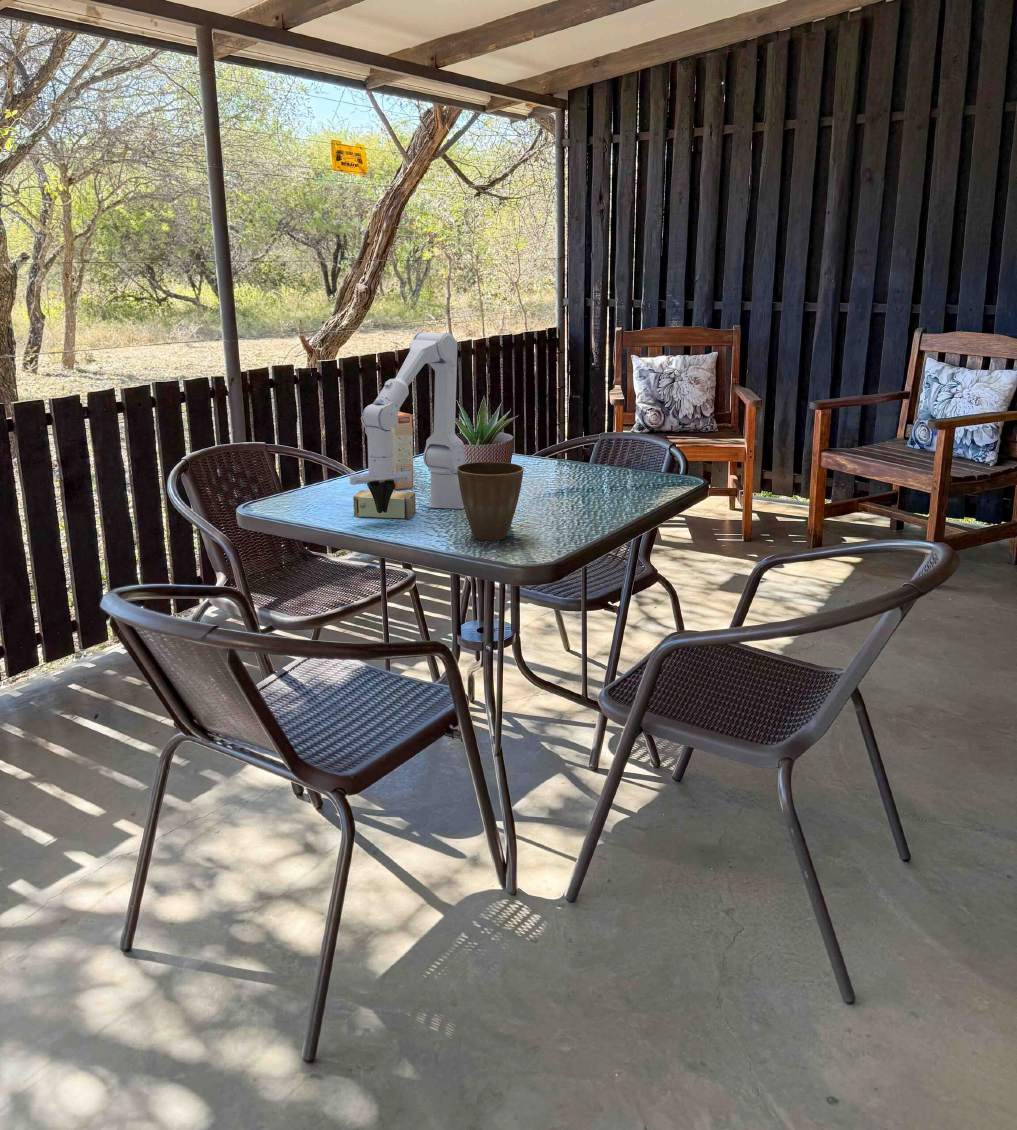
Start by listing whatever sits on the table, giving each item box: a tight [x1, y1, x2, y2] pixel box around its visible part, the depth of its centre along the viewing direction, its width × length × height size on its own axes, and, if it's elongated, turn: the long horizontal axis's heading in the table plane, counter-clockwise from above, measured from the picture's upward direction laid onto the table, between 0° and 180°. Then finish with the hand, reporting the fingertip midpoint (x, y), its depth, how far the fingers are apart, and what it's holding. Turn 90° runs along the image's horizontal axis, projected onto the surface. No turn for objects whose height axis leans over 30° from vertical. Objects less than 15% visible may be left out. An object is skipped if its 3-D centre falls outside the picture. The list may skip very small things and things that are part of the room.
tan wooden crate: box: [352, 489, 417, 519], centre depth 237 cm, size 14×7×5 cm, turn 83°
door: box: [358, 496, 412, 520], centre depth 233 cm, size 13×2×5 cm, turn 82°
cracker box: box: [379, 411, 414, 491], centre depth 269 cm, size 14×6×21 cm, turn 34°
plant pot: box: [457, 461, 525, 542], centre depth 215 cm, size 15×15×16 cm
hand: (381, 512), depth 229 cm, fingers closed
